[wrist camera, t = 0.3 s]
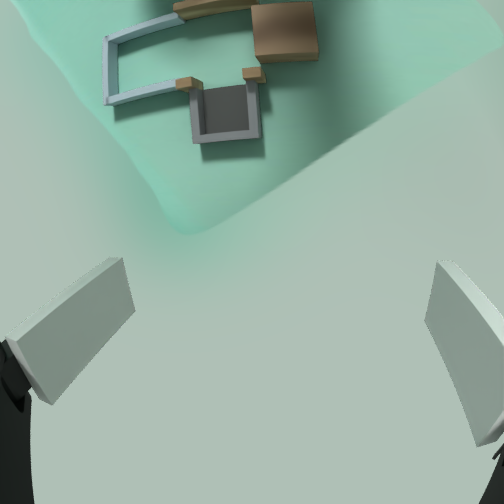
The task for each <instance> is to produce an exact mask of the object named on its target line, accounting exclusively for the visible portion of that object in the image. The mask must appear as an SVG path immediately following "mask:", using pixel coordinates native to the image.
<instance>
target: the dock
mask: <svg viewBox="0 0 504 504" xmlns="http://www.w3.org/2000/svg"><path fill="white" fill-rule="evenodd" d="M181 24H185V20H184V19H183V18H182V17H180V16H179V15H178V14H177V13H175V12H174V13H171V14H167V15H164V16H161V17H157V18H154V19H151V20H148V21H145V22H142V23H139V24H136V25H133V26H131V27H128V28H125V29H123V30H120V31H118V32H115V33H113V34H110V35H108V36H105V37H103V46H102V84H103V105H104V106H116V105H119V104H123V103H126V102H130V101H134V100H137V99H141V98H145V97H149V96H153V95H158V94H162V93H167V92H171V91H176V90H178V89H176V84H175V80H176V79H173V80H168V81H164V82H160V83H156V84H152V85H148V86H144V87H140V88H137V89H133V90H130V91H126V92H123V93H120V94H118V57H117V54H118V44H120V43H123V42H125V41H128V40H131V39H134V38H137V37H140V36H143V35H146V34H149V33H152V32H156V31H159V30H162V29H166V28H169V27H173V26H177V25H181ZM178 79H181V78H178Z"/></svg>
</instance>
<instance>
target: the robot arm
mask: <svg viewBox="0 0 504 504" xmlns="http://www.w3.org/2000/svg"><path fill="white" fill-rule="evenodd" d="M134 312H135V307H134V304H133V300H132V296H131V292H130V288H129V284H128V280H127V276H126V271H125V267H124V262H123V258H115V257H114V258H113V257H110V258H108V259H106V260H105V261H104V262H102V263H101V264H99V265H98V266H96V267H95V268H94V269H92V270H91V271H89V272H88V273H86V274H85V275H84V276H82V277H81V278H80V279H78V280H77V281H75V282H74V283H73V284H71V285H70V286H68V287H67V288H66V289H65V290H63V291H62V292H60V293H59V294H58V295H56V296H55V297H54V298H52V299H51V300H50V301H48V302H47V303H46V304H45V305H43V306H42V307H41V308H39V309H38V310H37V311H36V312H34V313H33V314H32V315H30V316H29V317H28V318H27V319H25V320H24V321H23V322H22V323H21V324H19V325H18V326H17V327H16V328H14V329H13V330H12V331H11V332H10V333H8V334H7V335H6V336H5V338H6V339H5V340H4V341H3V342H2V343H1V342H0V504H34V496H33V487H32V476H31V457H30V456H31V455H30V422H31V421H30V420H31V402H32V400H31V395H30V394H29V392H28V390H29V389H30V388H31V387H32V388H33V390H34V391H35V393H36V394H37V396H38V398H39V399H40V400H42V401H44V402H46V403H48V404H50V405H53V404H54V403H55V402H56V400H57V399H58V398H59V397H60V396H61V395H62V393H63V392H64V391H65V390H66V389H67V387H68V386H69V385H70V384H71V383H72V382H73V380H74V379H75V378H76V377H77V376H78V375H79V373H80V372H81V371H82V370H83V369H84V368H85V366H86V365H87V364H88V363H89V362H90V361H91V360H92V359H93V357H94V356H95V355H96V354H97V353H98V352H99V351H100V349H101V348H102V347H103V346H104V345H105V344H106V343H107V342H108V340H109V339H110V338H111V337H112V336H113V335H114V334H115V333H116V332H117V331H118V329H119V328H120V327H121V326H122V325H123V324H124V323H125V322H126V321H127V320H128V319H129V318H130V316H131V315H132V314H133V313H134ZM425 323H426V325H427V327H428V329H429V331H430V333H431V335H432V337H433V339H434V341H435V343H436V345H437V347H438V350H439V352H440V354H441V356H442V358H443V360H444V363H445V365H446V367H447V369H448V372H449V374H450V376H451V379H452V381H453V383H454V386H455V388H456V391H457V393H458V396H459V398H460V401H461V403H462V406H463V409H464V411H465V414H466V417H467V419H468V422H469V425H470V428H471V431H472V434H473V437H474V440H475V443H476V446H477V447H479V446H483V445H486V444H489V443H492V442H495V441H497V440H498V439H499V437H500V436H501V435H502V433H503V432H504V317H503V316H502V315H501V314H500V312H499V311H498V310H497V309H496V308H495V306H494V305H493V304H492V303H491V302H490V301H489V300H488V298H487V297H486V296H485V295H484V294H483V293H482V291H481V290H480V289H479V288H478V287H477V286H476V285H475V284H474V283H473V282H472V280H471V279H469V277H468V276H467V275H466V274H465V273H464V272H463V271H462V270H461V269H460V268H459V267H458V266H457V265H456V264H455V263H454V262H453V261H437V264H436V269H435V275H434V281H433V285H432V290H431V295H430V299H429V304H428V309H427V312H426V317H425ZM500 453H501V454H500ZM499 454H500V457H499V460H498V462H497V465H496V467H495V470H494V472H493V474H492V477H491V479H490V481H489V483H488V486H487V488H486V490H485V492H484V494H483V496H482V498H481V500H480V502H479V504H504V444H503V445H502V446H501V447H500V449H499V450H498V451H497V452H496V453H495V455H494V456H493V458H492V459H494V460H495V459H496V458H497V456H498V455H499Z"/></svg>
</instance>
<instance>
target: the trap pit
mask: <svg viewBox="0 0 504 504" xmlns="http://www.w3.org/2000/svg"><path fill="white" fill-rule="evenodd" d="M189 100H190V114H191V127H192V139H193V144H200V143H209V142H219V141H229V140H241V139H254V138H262V132H261V118H260V104H259V91H258V83H257V82H256V81H255V80H250V81H246V84H245V85H236V86H228V87H220V88H213V89H207V90H201V89H198V88H193V89H189Z"/></svg>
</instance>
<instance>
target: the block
mask: <svg viewBox="0 0 504 504" xmlns="http://www.w3.org/2000/svg"><path fill="white" fill-rule="evenodd" d="M251 12H252V24H253V36H254V48H255V56H256V58H257V59H258V61H259V62H260V64H262V63H274V62H291V61H318V56H319V49H318V40H317V32H316V25H315V18H314V11H313V4H312V2H286V3H272V4H262V5H253V6H251Z"/></svg>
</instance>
